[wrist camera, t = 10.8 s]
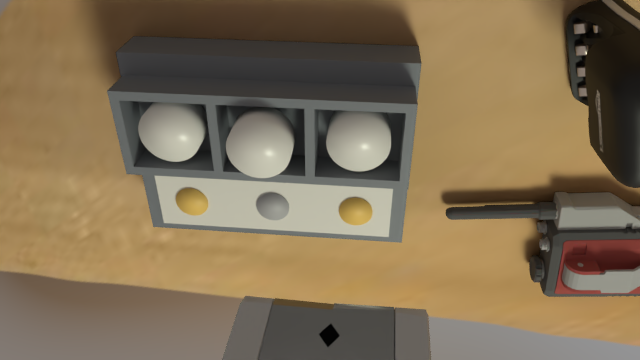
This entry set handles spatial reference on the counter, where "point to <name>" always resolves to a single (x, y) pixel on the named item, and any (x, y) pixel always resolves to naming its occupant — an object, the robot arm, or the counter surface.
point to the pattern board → (298, 106)
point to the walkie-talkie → (578, 242)
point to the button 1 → (173, 130)
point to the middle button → (261, 142)
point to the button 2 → (359, 139)
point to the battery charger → (608, 81)
